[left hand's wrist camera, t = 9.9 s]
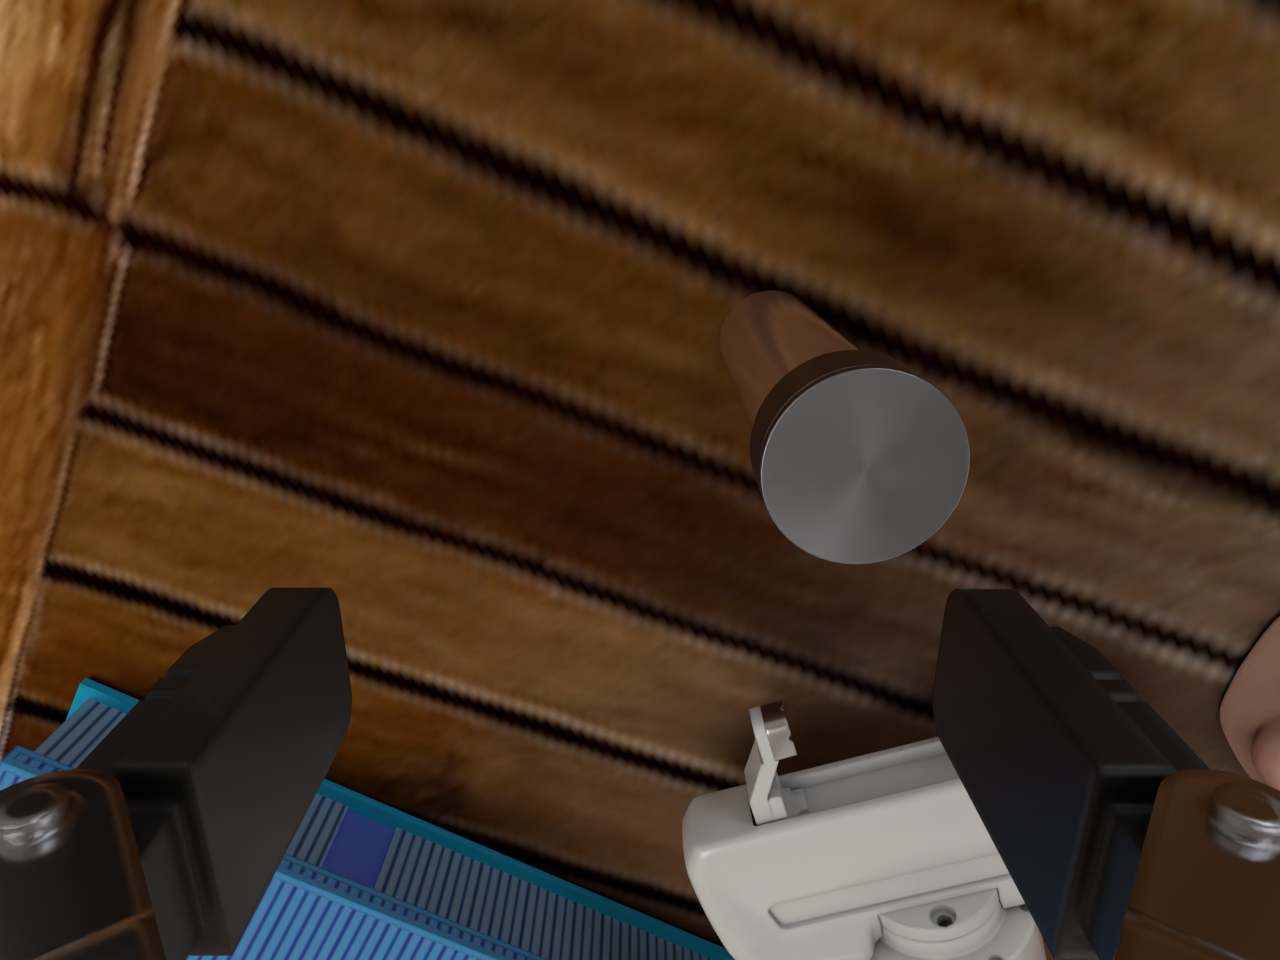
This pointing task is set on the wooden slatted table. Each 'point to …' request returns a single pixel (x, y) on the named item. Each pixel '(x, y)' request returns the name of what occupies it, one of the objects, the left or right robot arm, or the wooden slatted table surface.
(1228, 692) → the anatomical model
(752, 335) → the brown cylinder
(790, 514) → the lid
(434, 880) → the model building
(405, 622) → the wooden slatted table surface
